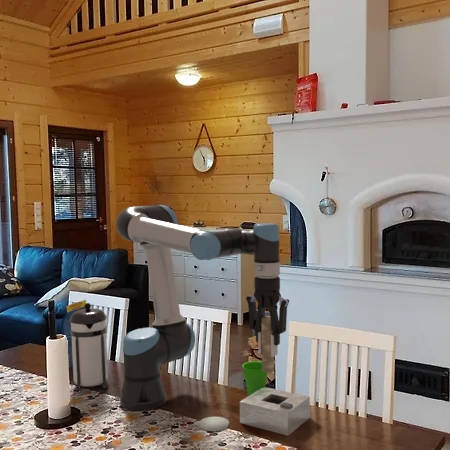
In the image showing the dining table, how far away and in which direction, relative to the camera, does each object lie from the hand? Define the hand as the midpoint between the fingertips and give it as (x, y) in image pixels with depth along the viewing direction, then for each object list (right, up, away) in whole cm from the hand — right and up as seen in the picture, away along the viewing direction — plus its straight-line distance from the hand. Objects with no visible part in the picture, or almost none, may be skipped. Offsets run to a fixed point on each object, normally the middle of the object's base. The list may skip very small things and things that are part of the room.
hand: (267, 354), depth 164 cm
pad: (-16, -21, -1) cm, 26 cm away
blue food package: (-72, -18, +60) cm, 95 cm away
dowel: (0, -5, 0) cm, 5 cm away
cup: (-2, -19, +19) cm, 27 cm away
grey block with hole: (+2, -20, +1) cm, 20 cm away
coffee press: (-61, -20, +36) cm, 74 cm away
